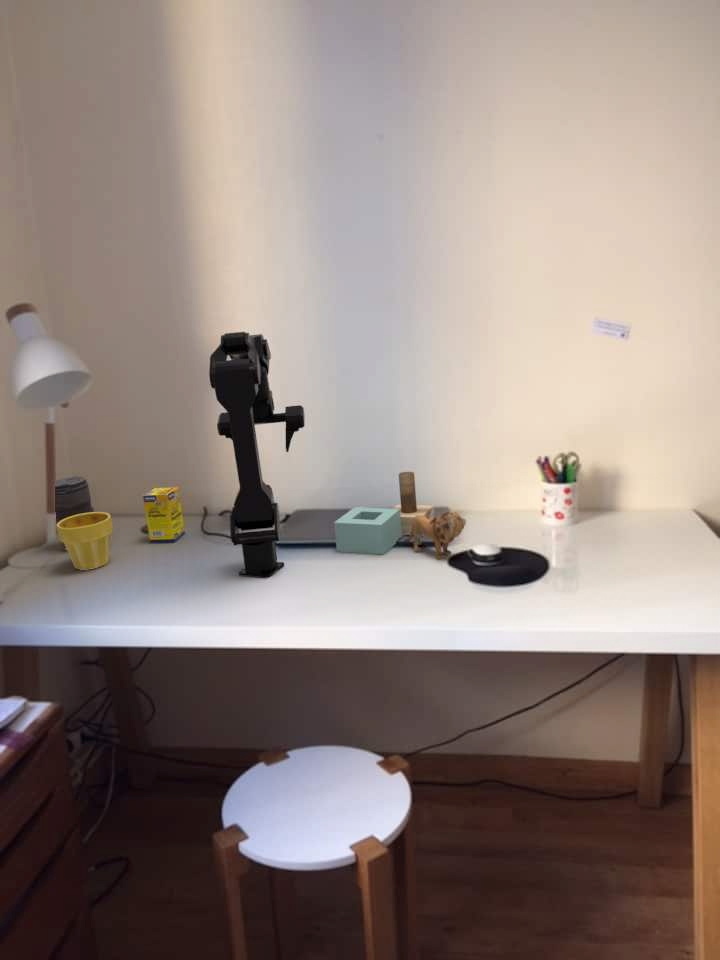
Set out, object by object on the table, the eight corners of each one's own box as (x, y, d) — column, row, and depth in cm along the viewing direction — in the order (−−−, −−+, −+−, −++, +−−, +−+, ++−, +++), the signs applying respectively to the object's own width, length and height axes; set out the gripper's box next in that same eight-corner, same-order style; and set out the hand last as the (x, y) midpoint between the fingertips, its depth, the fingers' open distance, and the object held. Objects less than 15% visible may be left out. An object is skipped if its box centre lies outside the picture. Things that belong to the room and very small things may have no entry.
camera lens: (64, 543, 167) (51, 479, 164) (101, 537, 169) (89, 474, 165) (57, 554, 160) (43, 488, 156) (96, 549, 161) (83, 482, 157)
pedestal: (422, 536, 150) (421, 517, 149) (385, 534, 153) (384, 516, 152) (434, 523, 157) (433, 505, 156) (399, 522, 160) (398, 504, 159)
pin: (413, 513, 152) (411, 475, 150) (399, 512, 153) (396, 475, 151) (419, 508, 154) (416, 471, 152) (404, 508, 156) (401, 471, 154)
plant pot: (106, 572, 146) (97, 525, 143) (56, 576, 147) (46, 529, 144) (126, 554, 156) (118, 509, 153) (78, 557, 157) (70, 513, 154)
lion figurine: (472, 554, 138) (469, 508, 135) (454, 563, 134) (452, 516, 132) (411, 541, 148) (408, 498, 145) (394, 549, 144) (390, 505, 142)
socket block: (383, 554, 142) (381, 524, 140) (336, 551, 146) (333, 522, 144) (402, 537, 150) (399, 508, 149) (357, 534, 154) (354, 507, 153)
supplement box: (175, 542, 160) (167, 494, 158) (149, 543, 162) (141, 495, 159) (186, 533, 166) (178, 486, 163) (161, 534, 167) (153, 487, 164)
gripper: (300, 370, 165) (308, 431, 173) (216, 378, 164) (228, 438, 173) (299, 393, 155) (308, 456, 164) (211, 402, 155) (224, 464, 164)
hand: (267, 453), depth 167 cm, fingers open, 9 cm apart
